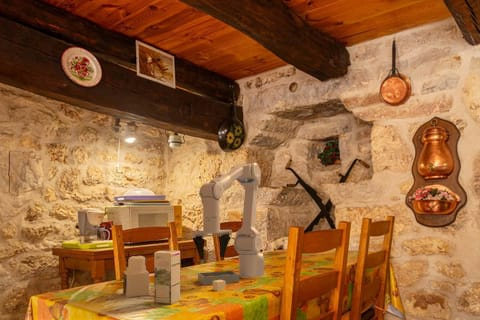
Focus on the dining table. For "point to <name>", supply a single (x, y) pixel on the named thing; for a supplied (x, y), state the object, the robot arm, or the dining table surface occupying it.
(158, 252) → the syrup box
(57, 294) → the dining table surface
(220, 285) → the lid
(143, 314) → the dining table surface
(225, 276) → the tub
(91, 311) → the dining table surface
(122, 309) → the dining table surface
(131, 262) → the medicine bottle
